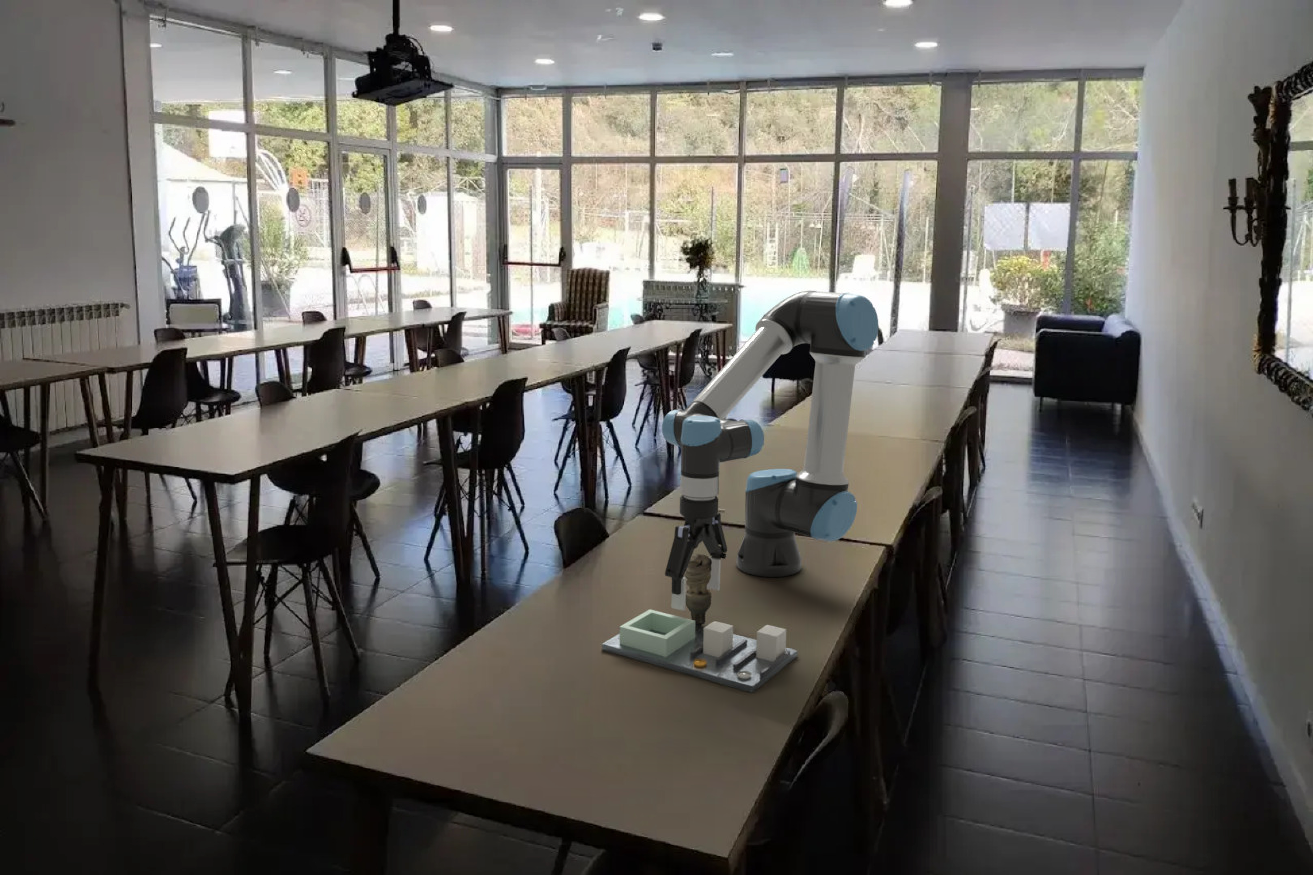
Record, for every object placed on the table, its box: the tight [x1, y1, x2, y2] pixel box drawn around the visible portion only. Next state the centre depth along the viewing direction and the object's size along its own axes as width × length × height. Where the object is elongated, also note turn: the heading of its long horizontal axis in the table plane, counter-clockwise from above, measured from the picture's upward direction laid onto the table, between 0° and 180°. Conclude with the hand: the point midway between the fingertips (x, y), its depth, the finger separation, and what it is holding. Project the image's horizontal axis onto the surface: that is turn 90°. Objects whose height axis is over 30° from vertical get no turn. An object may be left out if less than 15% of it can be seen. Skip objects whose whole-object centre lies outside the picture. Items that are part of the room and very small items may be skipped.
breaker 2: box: [756, 624, 787, 661], centre depth 188 cm, size 4×4×5 cm
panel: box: [601, 624, 798, 694], centre depth 192 cm, size 18×32×2 cm, turn 57°
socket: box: [619, 609, 695, 657], centre depth 194 cm, size 10×10×4 cm
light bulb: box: [684, 553, 712, 626], centre depth 203 cm, size 6×6×15 cm
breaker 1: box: [703, 620, 734, 657], centre depth 189 cm, size 4×4×5 cm
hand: (696, 598), depth 203 cm, fingers open, 13 cm apart
